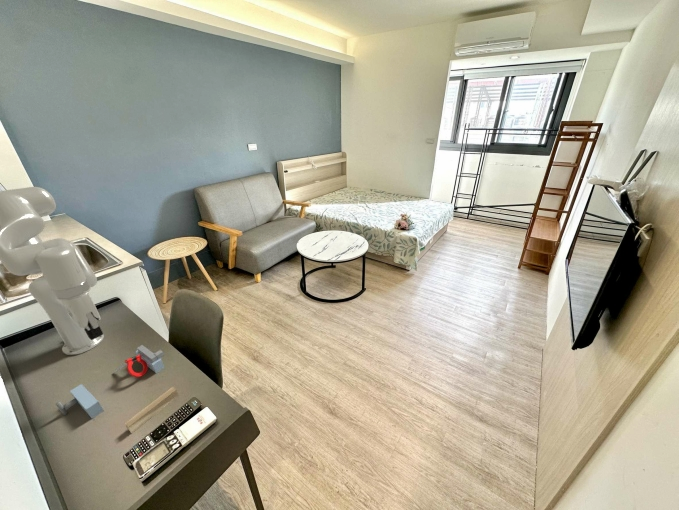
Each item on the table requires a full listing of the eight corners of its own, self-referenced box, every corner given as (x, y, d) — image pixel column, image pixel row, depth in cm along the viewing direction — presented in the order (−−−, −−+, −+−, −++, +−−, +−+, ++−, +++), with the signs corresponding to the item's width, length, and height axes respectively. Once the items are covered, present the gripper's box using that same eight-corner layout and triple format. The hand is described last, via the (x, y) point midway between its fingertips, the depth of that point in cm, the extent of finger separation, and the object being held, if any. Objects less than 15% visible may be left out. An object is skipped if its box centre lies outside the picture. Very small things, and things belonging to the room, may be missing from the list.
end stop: (128, 429, 79) (124, 423, 78) (174, 392, 90) (172, 386, 89) (131, 433, 79) (128, 427, 77) (178, 395, 89) (176, 389, 88)
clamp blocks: (59, 410, 85) (50, 397, 82) (151, 352, 106) (146, 340, 103) (75, 430, 79) (66, 417, 76) (169, 365, 100) (164, 352, 98)
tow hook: (134, 379, 91) (124, 359, 92) (112, 393, 93) (103, 374, 94) (151, 371, 98) (142, 353, 99) (131, 384, 99) (122, 367, 100)
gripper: (44, 286, 79) (71, 334, 87) (65, 303, 72) (92, 353, 80) (77, 275, 84) (99, 321, 93) (99, 290, 78) (121, 338, 86)
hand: (96, 336), depth 87 cm, fingers closed
